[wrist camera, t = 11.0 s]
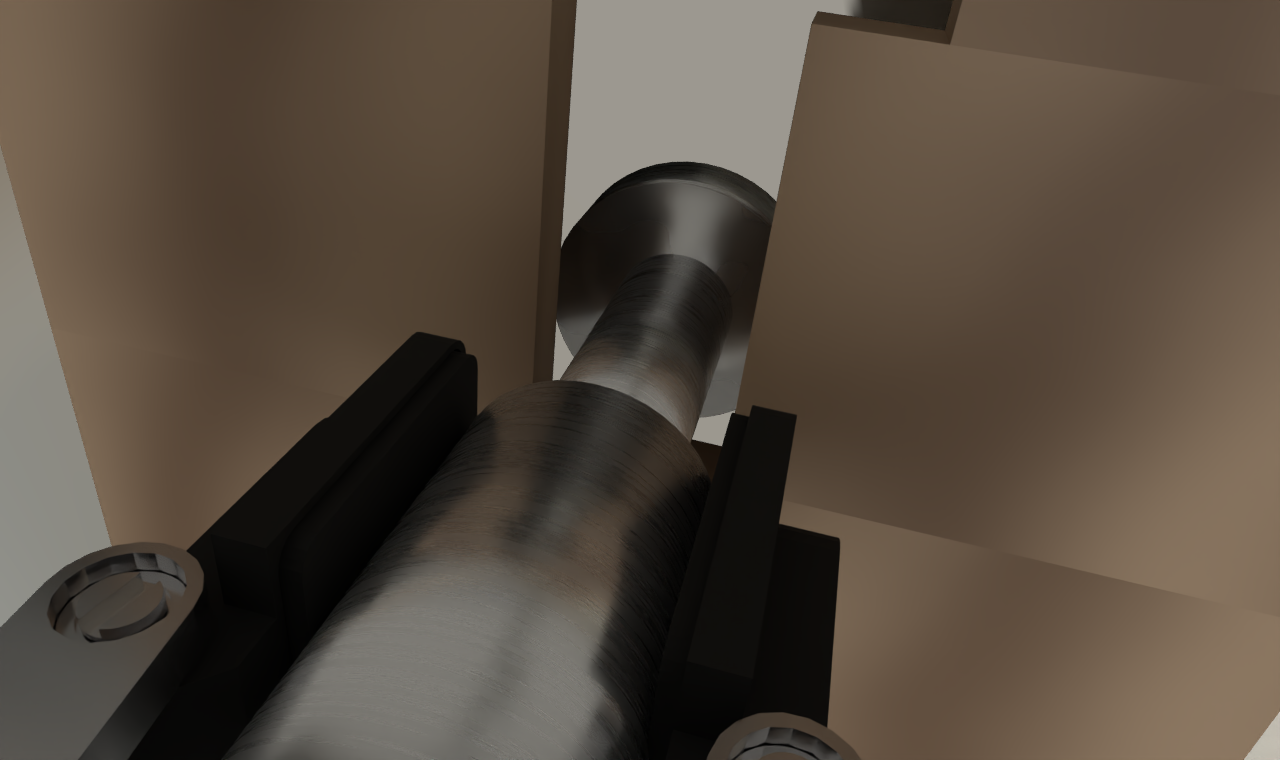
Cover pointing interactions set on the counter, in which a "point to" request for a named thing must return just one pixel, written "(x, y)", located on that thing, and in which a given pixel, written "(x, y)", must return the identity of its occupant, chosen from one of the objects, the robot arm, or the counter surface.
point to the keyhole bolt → (551, 513)
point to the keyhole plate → (783, 321)
